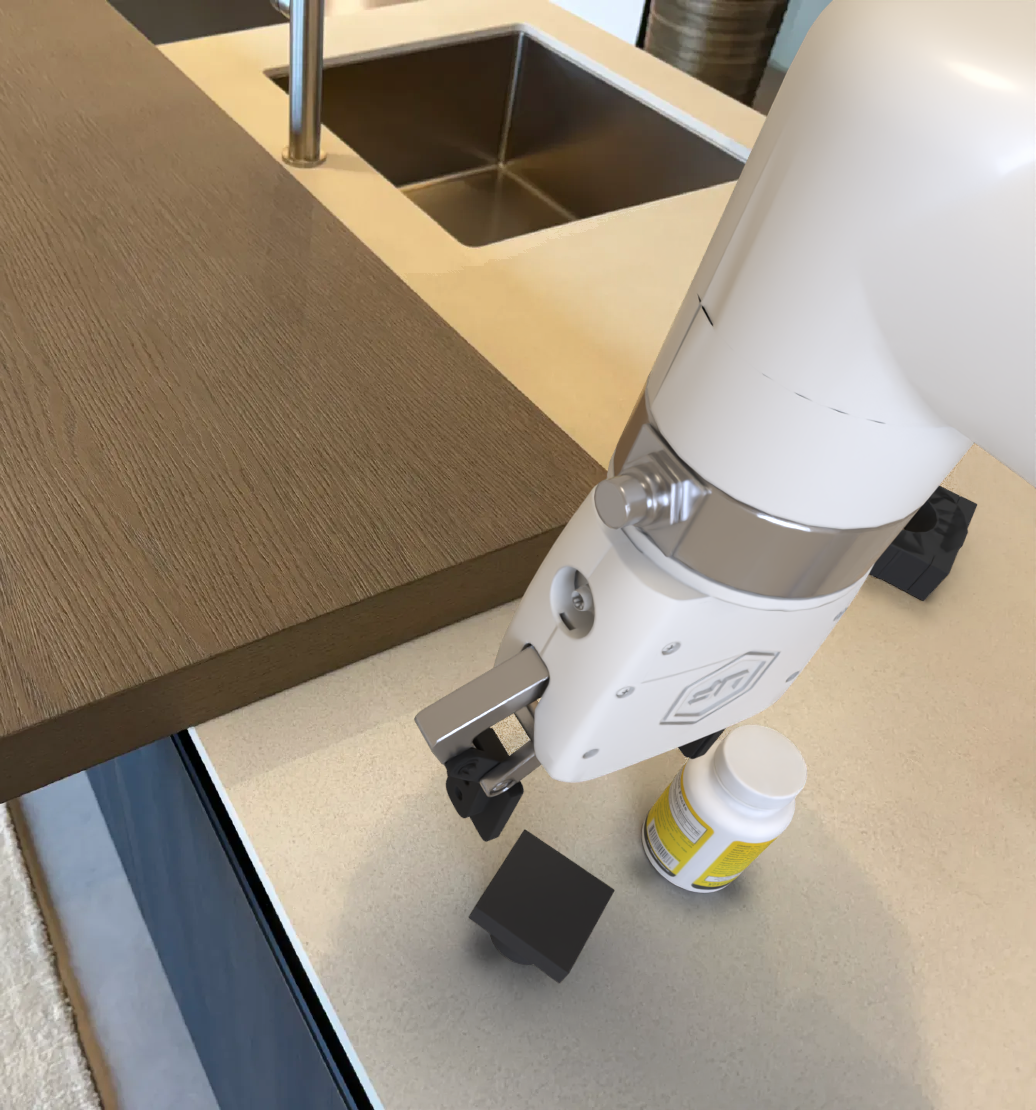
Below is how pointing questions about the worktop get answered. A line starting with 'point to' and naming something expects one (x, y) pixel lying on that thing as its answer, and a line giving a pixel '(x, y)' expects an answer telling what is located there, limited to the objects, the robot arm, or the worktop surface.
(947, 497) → the base pad
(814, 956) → the worktop surface
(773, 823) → the supplement bottle
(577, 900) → the top pad
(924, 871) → the worktop surface
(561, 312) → the worktop surface
